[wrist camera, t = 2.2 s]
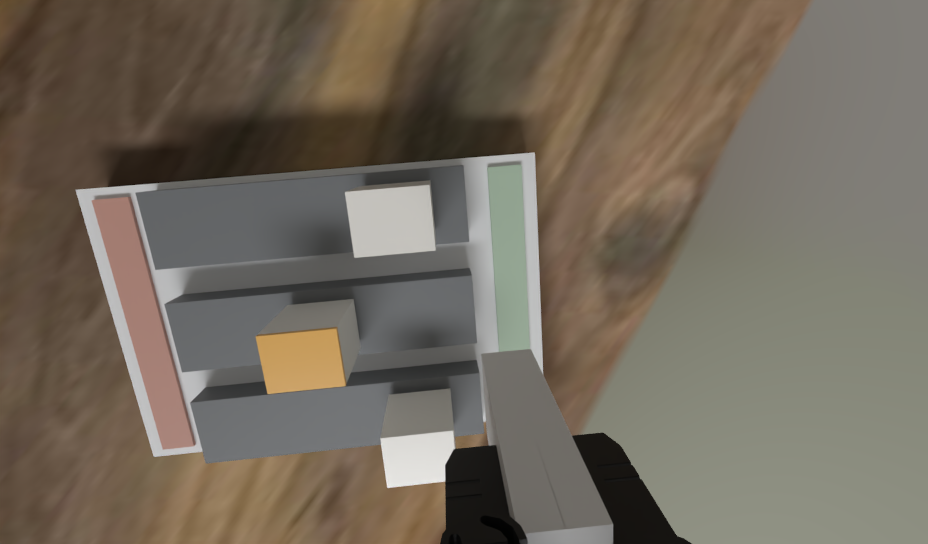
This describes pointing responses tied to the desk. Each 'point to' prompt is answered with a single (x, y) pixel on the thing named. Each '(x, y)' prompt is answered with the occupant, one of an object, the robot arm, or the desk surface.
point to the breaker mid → (309, 346)
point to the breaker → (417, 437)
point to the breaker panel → (312, 298)
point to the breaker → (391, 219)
